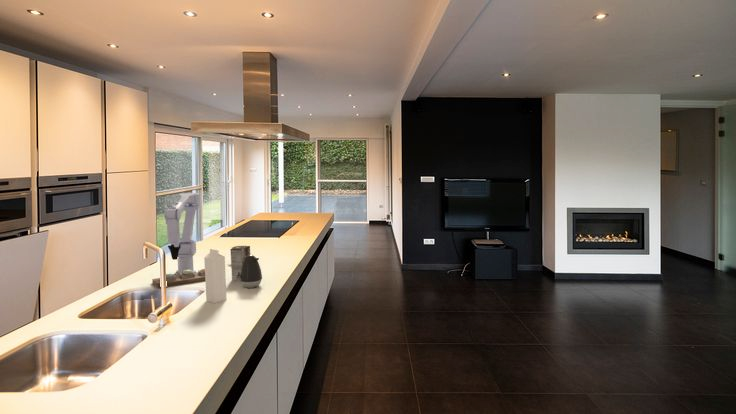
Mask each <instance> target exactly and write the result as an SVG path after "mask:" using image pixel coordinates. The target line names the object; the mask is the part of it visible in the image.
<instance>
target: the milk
mask: <svg viewBox="0 0 736 414" xmlns="http://www.w3.org/2000/svg"><path fill="white" fill-rule="evenodd" d="M203 259H204V262H203V263H204V269H205V281H204V282H205V296H206V297H205V298H206V300H205V301H206V302H208V303H212V304H216V303H220V302H224V301H227V282H226V280H227V278H226V258H225V255H223V254H220V253H219V250H218V249H215V248H214V249H212V248H210V249H209V253H208V254H206V255H205V256H204V258H203Z"/></svg>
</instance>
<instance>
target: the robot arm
mask: <svg viewBox="0 0 736 414" xmlns="http://www.w3.org/2000/svg"><path fill="white" fill-rule="evenodd" d="M200 202H201V197H200V194H199V193H198V192H188V193H186V192H180V194H179V195H178V201H175V202H174V203H173V204H172V205H171V207H170V208H167V209H165V211H164V213H163V214H164V220H165V224H166V230H167V231H166V234H167V242H166V243H167V244H168V245H167V248H168V250H169V252H170V256H171V260H173V261H174V260H176V261H177V270H176V271H175V272H176V273H178V274H179V275H180V273H183V270H191V271H192V272H193V273H196V272H197V271H196V270H195V268H194V256H195V254H196V253H197V243H196V241H195V240H194V239H192V237H193V230H194V223H195V218H196V217H195V216H196V211H197V210H199V208H200V204H201V203H200ZM184 211H185V213H184V221H183V228H182V233H181V231H180V220H181V218H182V213H183V212H184ZM180 234H181V235H180Z"/></svg>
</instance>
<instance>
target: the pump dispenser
mask: <svg viewBox="0 0 736 414" xmlns="http://www.w3.org/2000/svg"><path fill="white" fill-rule="evenodd" d="M259 259H260V258H259V257H256V256H255V255H253V254H250V255H248V256H246V257H245V259H244V261H243V263H242V267H241V272H240V283H241V285H242V286H243V287H244V288H247V289H253V288H257V287H258V286H260V284H261V283H262V280H263V274H262V269H261V265H260V262H259Z"/></svg>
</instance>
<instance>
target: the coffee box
mask: <svg viewBox="0 0 736 414" xmlns="http://www.w3.org/2000/svg"><path fill="white" fill-rule="evenodd" d="M236 246H237V247H235V246H234V247H235V248H232V247H231V248H230V264H231V265H230V267H231V280H232V281H240V272H241V267H242V263H243V261H244V259H245V257H246V256H248V255H251V245H236ZM240 282H241V281H240Z"/></svg>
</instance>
